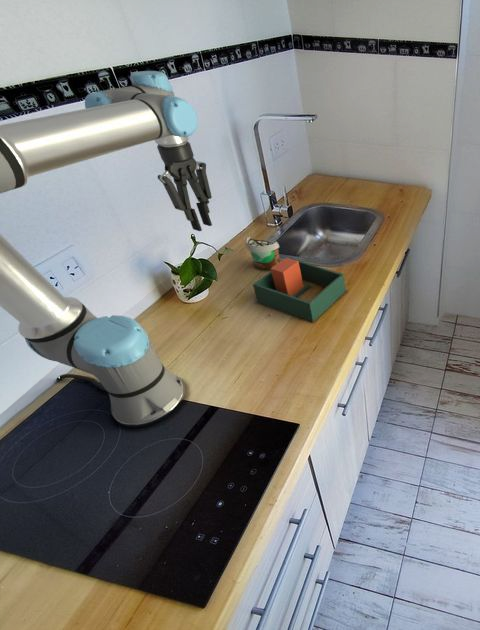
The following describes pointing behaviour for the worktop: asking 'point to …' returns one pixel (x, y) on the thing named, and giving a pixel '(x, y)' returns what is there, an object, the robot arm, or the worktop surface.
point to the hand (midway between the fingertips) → (202, 227)
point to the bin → (298, 306)
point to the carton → (287, 277)
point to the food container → (263, 253)
